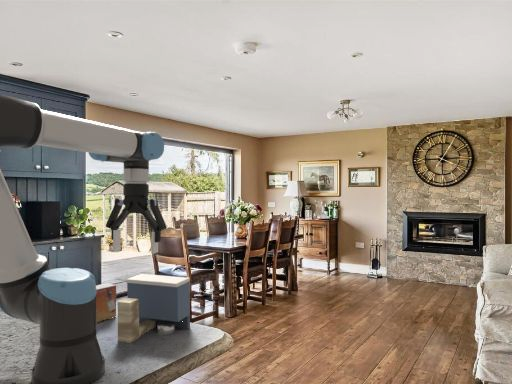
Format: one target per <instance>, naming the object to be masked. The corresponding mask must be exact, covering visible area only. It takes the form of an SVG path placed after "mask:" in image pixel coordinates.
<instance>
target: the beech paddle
mask: <svg viewBox="0 0 512 384" xmlns="http://www.w3.org/2000/svg"><path fill="white" fill-rule="evenodd" d="M116 311H117V342H119V343H124V342H126V343H125V344H131V342H132V343H133V342H136V341H137V340H139V339H140V337H142V336H143V335H145V334H146V332H147V333H148V332H150V331H152V330H154V329H155V328H157V327H156V326H157V325H156V321H155V320H145V321H144V322H142V323H139V299H133V298H127V297H126V298H123V299H120V300H118V301H116ZM154 327H155V328H154ZM153 328H154V329H153ZM151 329H152V330H151ZM149 330H150V331H149ZM144 333H145V334H144ZM141 335H142V336H141ZM139 336H140V337H139ZM138 338H139V339H138ZM136 339H137V340H136Z"/></svg>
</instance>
